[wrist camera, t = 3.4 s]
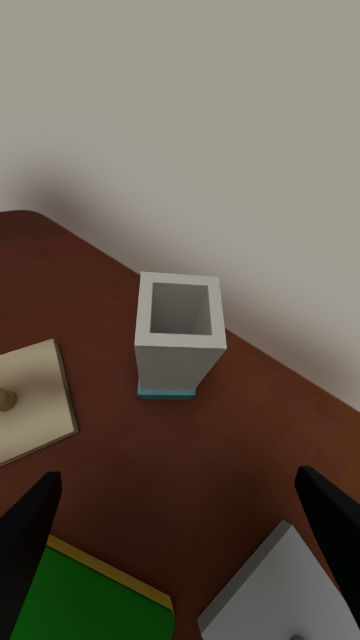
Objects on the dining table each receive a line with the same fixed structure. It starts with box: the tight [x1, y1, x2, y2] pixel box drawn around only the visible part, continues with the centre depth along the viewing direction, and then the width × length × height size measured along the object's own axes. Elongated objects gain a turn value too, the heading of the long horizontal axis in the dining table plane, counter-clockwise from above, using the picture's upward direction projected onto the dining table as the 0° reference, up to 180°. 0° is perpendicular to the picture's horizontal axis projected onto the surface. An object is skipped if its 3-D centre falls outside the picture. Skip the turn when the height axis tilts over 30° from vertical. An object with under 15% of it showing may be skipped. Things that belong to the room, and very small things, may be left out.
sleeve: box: [134, 272, 227, 400], centre depth 18 cm, size 5×5×13 cm
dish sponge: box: [10, 534, 175, 640], centre depth 14 cm, size 7×14×2 cm, turn 68°
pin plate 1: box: [0, 339, 79, 467], centre depth 19 cm, size 9×9×4 cm
